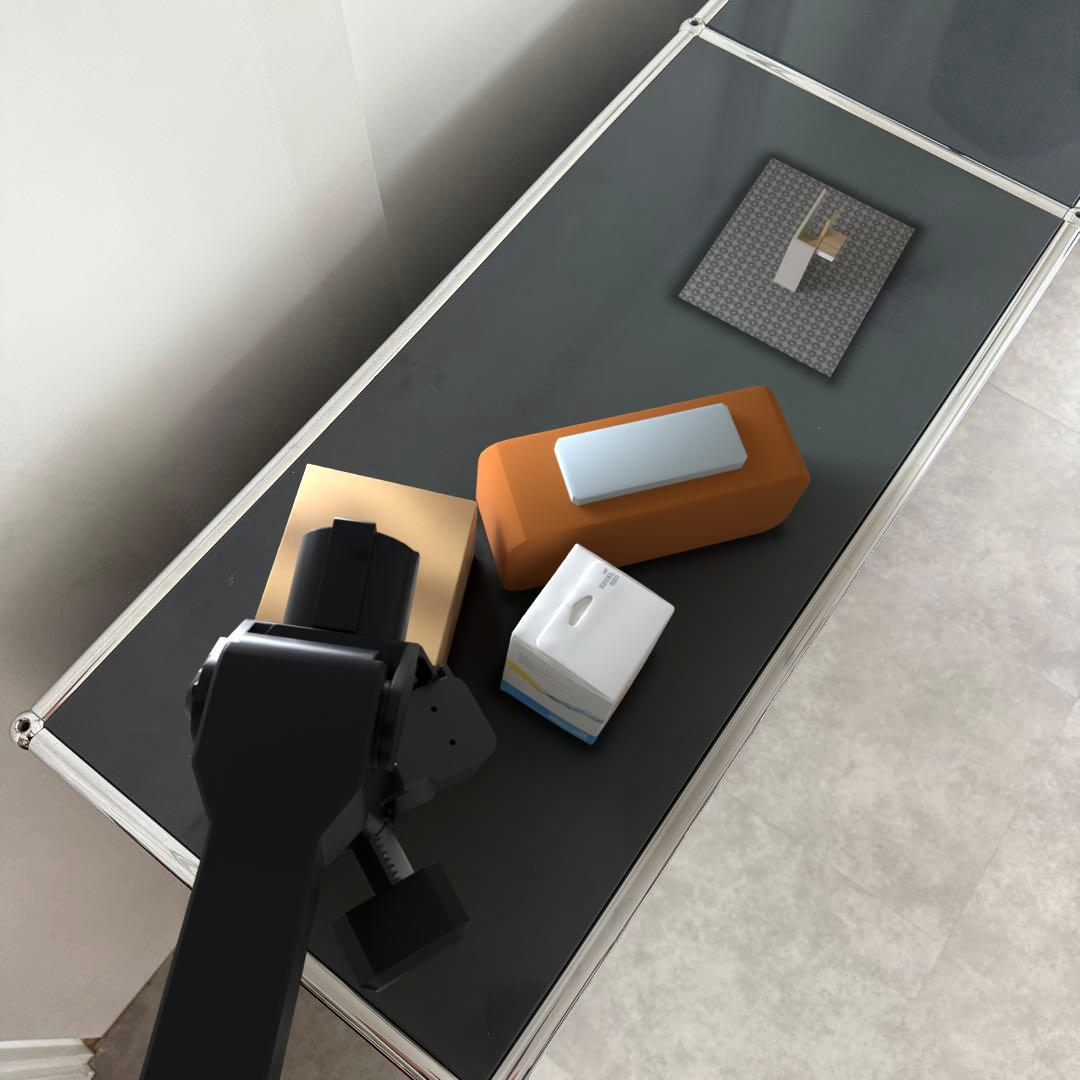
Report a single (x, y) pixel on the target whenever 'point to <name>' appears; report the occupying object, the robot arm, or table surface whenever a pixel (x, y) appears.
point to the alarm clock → (639, 484)
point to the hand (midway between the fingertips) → (349, 829)
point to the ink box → (583, 643)
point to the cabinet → (403, 514)
